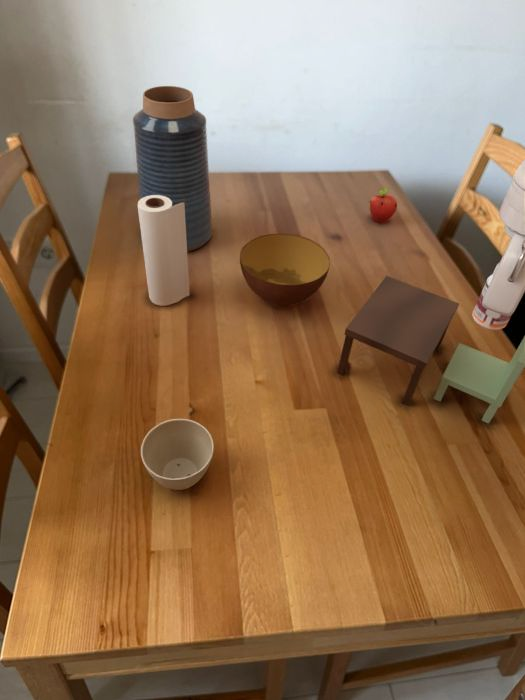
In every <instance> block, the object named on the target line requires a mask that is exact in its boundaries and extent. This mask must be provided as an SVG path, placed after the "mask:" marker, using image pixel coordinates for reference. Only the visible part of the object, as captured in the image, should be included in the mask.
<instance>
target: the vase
mask: <svg viewBox="0 0 525 700" xmlns="http://www.w3.org/2000/svg"><path fill="white" fill-rule="evenodd" d="M132 123H133V132H134V134H133V135H134V144H135V145H134V147H135V157H136V168H137V180H138V192H139V193H138V197H139V200H140V199H141V198H143V197H146V196H150V195H161V196H165V197H167V198H169V199H170V200H171V201H172V207H174V206H175V205H177V204H180V203H184V205H185V223H186V241H187V252H191V251H194V250H197V249H199V248H201V247H202V246H204V245H206V243H207V242H208V241H209V240H210V239H211V237H212V234H213V222H212V221H213V218H212V217H213V216H212V199H211V188H210V171H209V152H208V151H209V149H208V138H207V137H208V134H207V118H206V116H205V114H203V113H202V112H201V111H200V110H198V109H196V105H195V99H194V93H193V92H192V91H191V90H189V89H188V88H185V87H181V86H175V85H159V86H154V87H150V88H147V89H146V90H145V91H143V94H142V108H141V109H140V110H138V111H137V112H136V113H135V114H134V115H133V117H132Z"/></svg>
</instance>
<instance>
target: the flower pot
mask: <svg viewBox="0 0 525 700" xmlns="http://www.w3.org/2000/svg"><path fill="white" fill-rule="evenodd" d="M214 450H215V444H214V440H213V437H212V434H211V433H210V431H209V430H208V429H207V428H206V427H205V426H203V425H202V424H201V423H199V422H197V421H194V420H192V419H188V418H171V419H168V420H165V421H162V422H160V423H158V424H157V425H155V426H154V427H152V428H151V429H150V430H149V431H148V432H147V434H146V435H145V437H144V438H143V440H142V442H141V446H140V458H141V460H142V464H143V466H144V468H145V469H146V471H147V472H148V474H149V475H150V476H151V478H152V479H154V481H155V482H156V483H158V484H159V485H160V486H162V487H164V488H167V489H170V490H173V491H182V490H187V489H190V488H191V487H192V486H194V485H196V484H197V483H198V482H199V481H200V480H201V479H202V478H203V477H204V476H205V475H206V472H207V471H208V469H209V467H210V465H211V462H212V459H213V456H214Z"/></svg>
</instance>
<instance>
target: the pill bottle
mask: <svg viewBox="0 0 525 700" xmlns="http://www.w3.org/2000/svg"><path fill="white" fill-rule="evenodd" d="M499 263H500V262H498V263H497V264H496V266H495V268H494V271H493V272H492V274H490V275H489V276H488V277H487V279H486V281H485V283H484V286H483V288H482V290H481V292H480V295H479V297H478V299H477V301H476V304H475V306H474V308H473V311H472V318H473V320H474V322H475V323H476V324H478V326H481V327H483V328H485V329H487V330H492V331H498V330H502V329H504V328H506V327H507V325H508V323H509V322H510V319H511V317H512V315H510V316H505V315H501V316H500V317H499V318H497V319H496V318H493V317H490V316H487V314H486V311H487V309H486V308H484V307H483V306H482V301H483V298H484V296H485V294H486V291H487V289H488V287H489V285H490V283H491V281H492V278H493V276H494V274H495V272H496V270H497V267H498V265H499Z"/></svg>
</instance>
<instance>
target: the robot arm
mask: <svg viewBox="0 0 525 700" xmlns="http://www.w3.org/2000/svg"><path fill="white" fill-rule="evenodd" d="M498 216H499V219H500V221H501V222H502V223H503V224H504V226H503V227H504V228H503V230H504V232H505V234H506V235H507V237H509V238H510V240H509V242H508V244H507V246H506V248H505V250H504V252H503V254H502V257H501V259H500V261H499V262H498V263H499V265H498V267H497V270H496V272H495V274H494V276H493V278H492V281H491V283H490V285H489V287H488V289H487V291H486V294H485V296H484V298H483V301H482V306H483V307H484V308H486V309H487V311H486V314H487V316H490V317H493V318H496V319H497V318H499V317H500V316H501V315H505V316H510V315H511V316H513V314H514V313H515V311H516V309H517V307H518V305H519V303H520V302H521V299H522V298H523V296H524V294H525V159H523V161H522V163H521V164H520V165H519V167H518V168H517V169H516V170H515V172H514V175H513V177H512V179H511V182H510V185H509V186H508V189H507V192H506V194H505V196H504V199H503V201H502V203H501V205H500V207H499V210H498Z"/></svg>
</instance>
